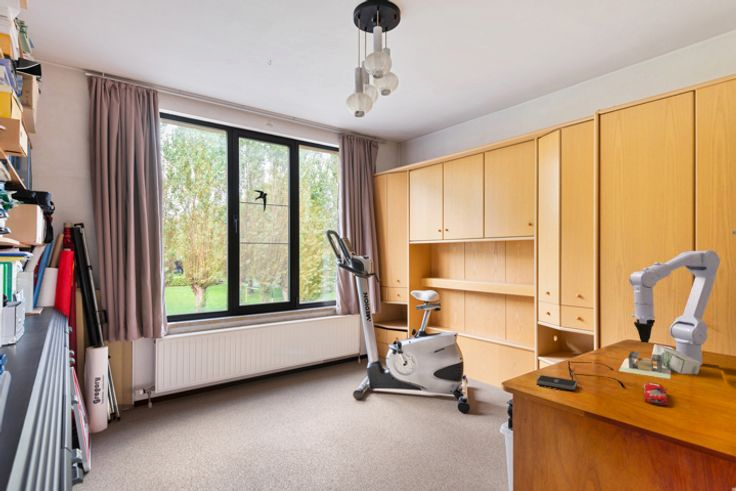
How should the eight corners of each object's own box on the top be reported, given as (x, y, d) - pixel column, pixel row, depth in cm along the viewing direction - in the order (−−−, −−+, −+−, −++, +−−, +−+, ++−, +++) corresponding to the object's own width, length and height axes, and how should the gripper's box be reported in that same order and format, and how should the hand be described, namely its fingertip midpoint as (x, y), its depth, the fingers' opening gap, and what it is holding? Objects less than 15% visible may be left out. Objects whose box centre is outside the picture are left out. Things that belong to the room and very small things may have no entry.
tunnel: (631, 363, 138) (630, 351, 138) (662, 367, 132) (661, 355, 132) (629, 368, 132) (628, 355, 132) (661, 372, 126) (660, 359, 126)
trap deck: (625, 362, 144) (625, 358, 144) (671, 368, 135) (671, 364, 135) (618, 375, 129) (618, 370, 129) (670, 383, 119) (670, 378, 119)
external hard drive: (540, 380, 125) (540, 374, 125) (577, 387, 119) (577, 380, 119) (536, 386, 120) (536, 380, 120) (574, 393, 113) (574, 387, 113)
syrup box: (702, 362, 123) (669, 346, 138) (684, 359, 124) (653, 343, 138) (697, 378, 124) (665, 360, 138) (679, 375, 124) (649, 358, 139)
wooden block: (639, 365, 134) (638, 357, 134) (652, 367, 131) (652, 359, 132) (637, 369, 130) (637, 360, 130) (652, 371, 128) (651, 362, 128)
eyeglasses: (566, 370, 137) (566, 359, 137) (617, 375, 130) (616, 363, 130) (570, 384, 122) (569, 371, 122) (627, 390, 115) (626, 377, 115)
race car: (668, 409, 100) (667, 394, 101) (643, 404, 104) (643, 390, 104) (666, 394, 111) (665, 381, 111) (643, 390, 114) (643, 377, 114)
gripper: (632, 301, 144) (634, 335, 143) (628, 304, 133) (630, 342, 132) (655, 302, 139) (657, 338, 139) (653, 306, 128) (654, 345, 128)
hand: (645, 340), depth 135 cm, fingers open, 7 cm apart
